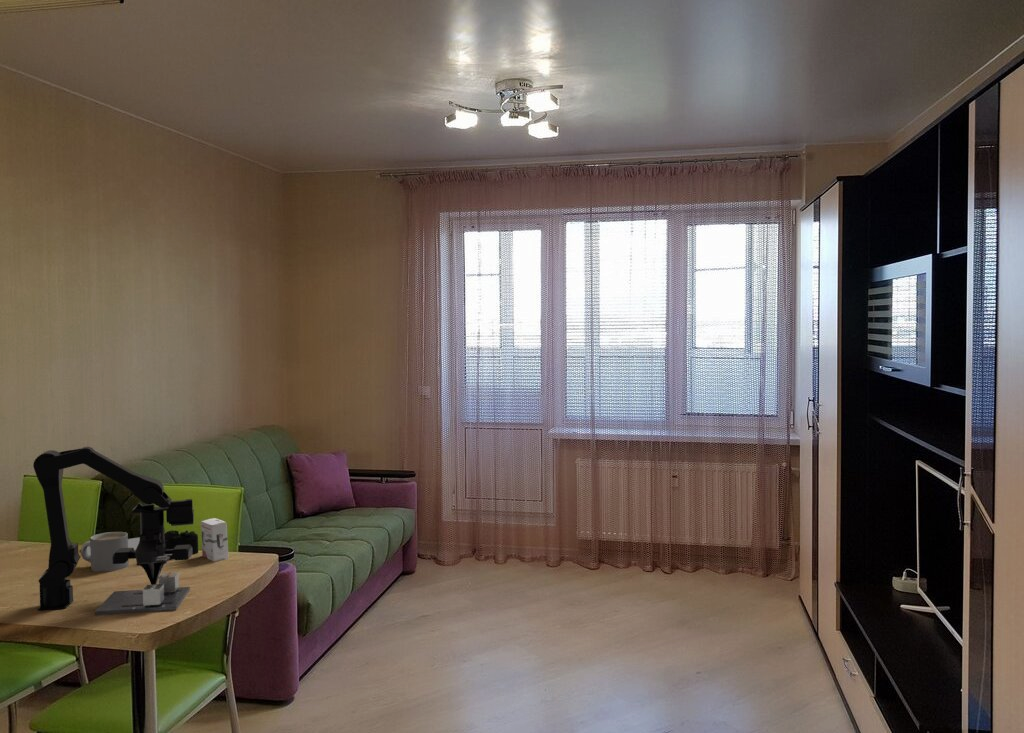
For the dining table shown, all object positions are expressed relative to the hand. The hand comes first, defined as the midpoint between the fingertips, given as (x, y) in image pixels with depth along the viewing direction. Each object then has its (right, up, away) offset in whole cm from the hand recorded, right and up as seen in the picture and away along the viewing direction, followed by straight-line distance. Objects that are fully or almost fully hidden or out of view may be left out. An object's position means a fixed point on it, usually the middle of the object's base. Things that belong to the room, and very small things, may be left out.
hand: (154, 586), depth 212 cm
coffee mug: (-26, -2, +26) cm, 37 cm away
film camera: (-11, -2, +37) cm, 39 cm away
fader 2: (+4, -1, +1) cm, 4 cm away
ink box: (+3, -2, +35) cm, 35 cm away
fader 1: (+4, -2, -9) cm, 10 cm away
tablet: (-29, -2, +46) cm, 54 cm away
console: (0, -3, -5) cm, 6 cm away
